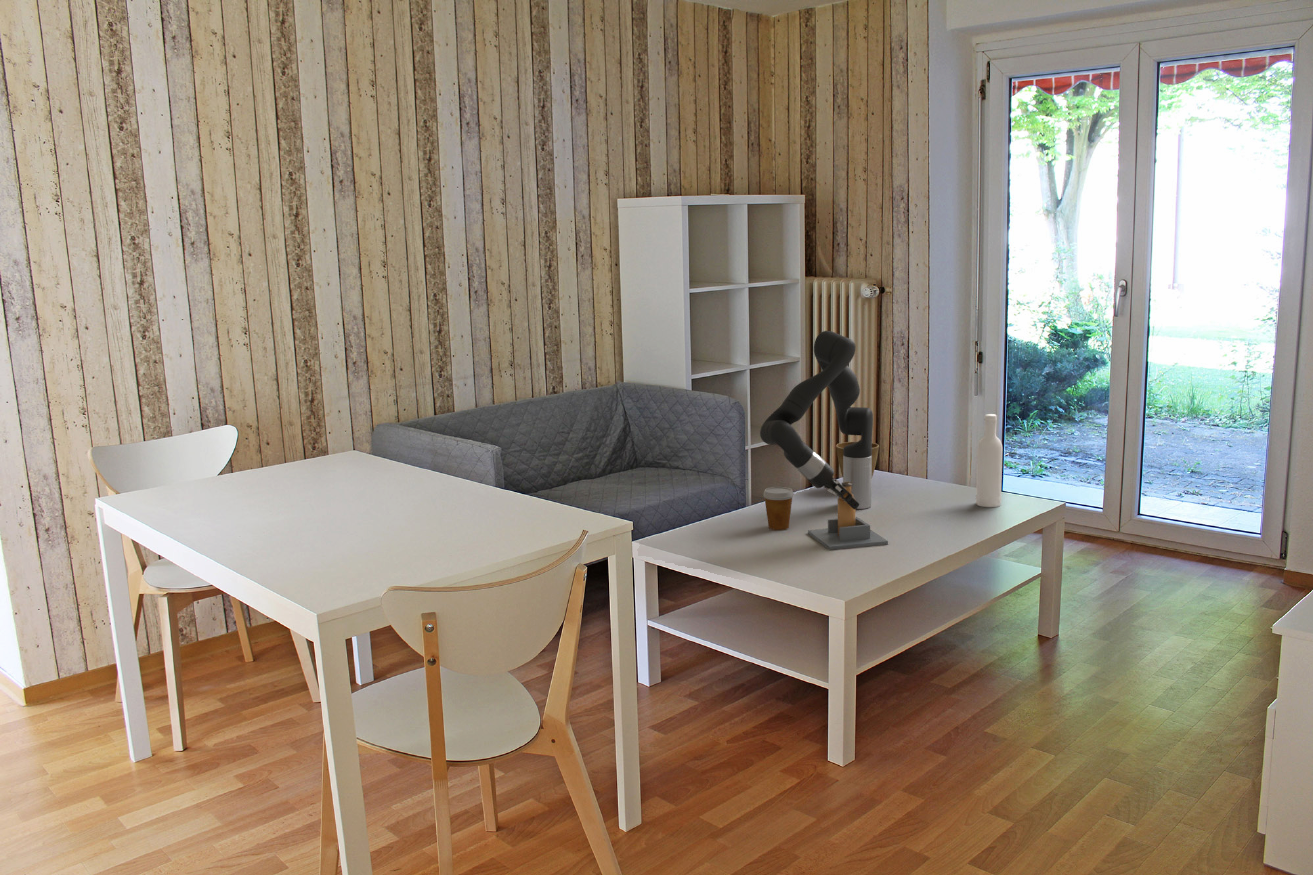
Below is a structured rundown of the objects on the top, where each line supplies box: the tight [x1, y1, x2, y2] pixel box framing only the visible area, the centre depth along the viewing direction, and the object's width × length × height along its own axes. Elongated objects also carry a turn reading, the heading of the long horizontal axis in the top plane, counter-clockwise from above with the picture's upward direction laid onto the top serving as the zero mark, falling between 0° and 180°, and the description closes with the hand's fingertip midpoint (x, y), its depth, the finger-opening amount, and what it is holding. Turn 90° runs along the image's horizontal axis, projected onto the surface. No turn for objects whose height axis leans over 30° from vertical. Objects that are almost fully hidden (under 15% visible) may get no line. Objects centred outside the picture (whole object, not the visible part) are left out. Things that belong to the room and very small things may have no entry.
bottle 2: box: [975, 413, 1004, 508], centre depth 334 cm, size 8×8×30 cm
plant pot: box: [835, 441, 880, 478], centre depth 362 cm, size 15×15×16 cm
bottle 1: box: [837, 481, 857, 536], centre depth 302 cm, size 5×5×16 cm
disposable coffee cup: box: [762, 486, 795, 531], centre depth 317 cm, size 10×10×12 cm
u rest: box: [807, 516, 889, 551], centre depth 304 cm, size 18×18×5 cm
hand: (851, 503), depth 302 cm, fingers open, 8 cm apart
